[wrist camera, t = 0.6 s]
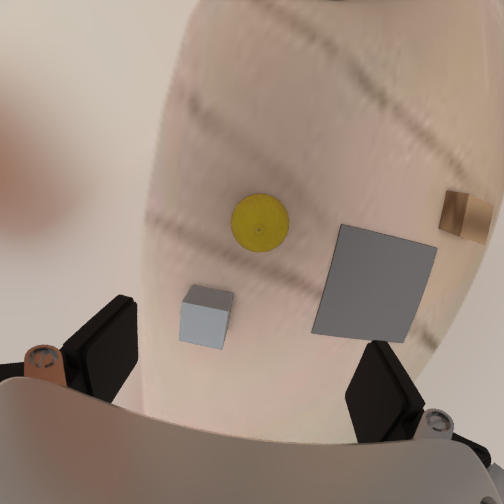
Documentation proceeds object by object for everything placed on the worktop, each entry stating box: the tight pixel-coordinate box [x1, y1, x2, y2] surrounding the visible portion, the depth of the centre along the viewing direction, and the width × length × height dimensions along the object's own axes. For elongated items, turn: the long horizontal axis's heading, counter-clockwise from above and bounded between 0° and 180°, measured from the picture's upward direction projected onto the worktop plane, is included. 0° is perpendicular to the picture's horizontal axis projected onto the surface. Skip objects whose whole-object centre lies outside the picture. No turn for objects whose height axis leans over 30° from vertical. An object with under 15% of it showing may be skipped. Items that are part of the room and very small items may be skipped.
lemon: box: [231, 194, 289, 252], centre depth 27 cm, size 6×6×8 cm
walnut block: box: [439, 191, 494, 245], centre depth 27 cm, size 5×5×5 cm
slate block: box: [179, 285, 234, 350], centre depth 32 cm, size 5×5×5 cm
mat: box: [311, 224, 438, 343], centre depth 32 cm, size 14×14×1 cm
